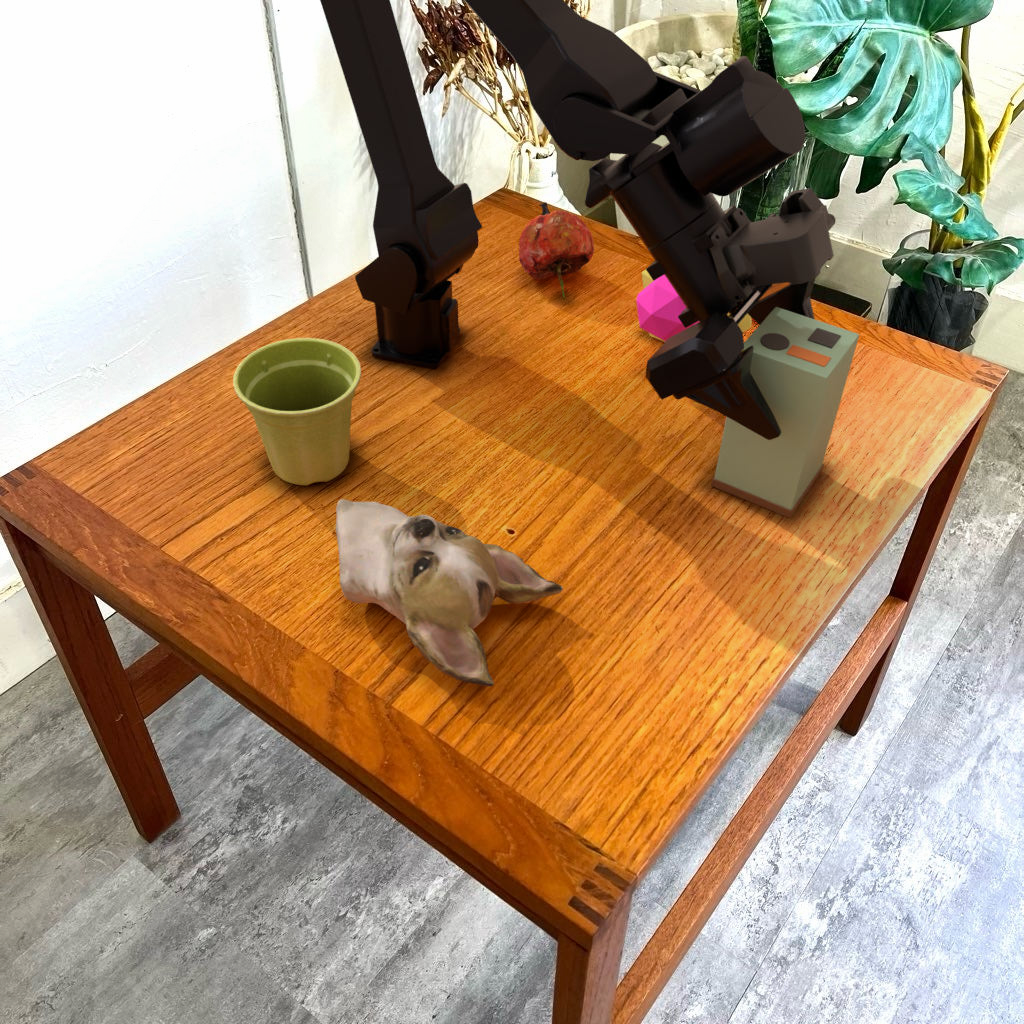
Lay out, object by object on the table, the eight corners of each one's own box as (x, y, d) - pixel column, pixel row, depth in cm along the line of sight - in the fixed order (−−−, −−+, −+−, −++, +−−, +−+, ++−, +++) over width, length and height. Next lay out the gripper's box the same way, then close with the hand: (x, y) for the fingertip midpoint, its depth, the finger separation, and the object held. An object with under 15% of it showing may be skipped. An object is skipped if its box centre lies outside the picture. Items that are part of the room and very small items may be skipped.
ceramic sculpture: (383, 437, 71) (576, 524, 66) (387, 524, 77) (563, 609, 72) (284, 531, 64) (490, 635, 59) (297, 618, 70) (485, 719, 65)
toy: (794, 333, 98) (784, 222, 95) (712, 373, 84) (699, 243, 81) (698, 340, 104) (686, 235, 101) (607, 378, 90) (591, 258, 87)
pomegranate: (598, 307, 103) (587, 214, 105) (601, 280, 96) (589, 180, 98) (525, 315, 104) (515, 222, 105) (522, 289, 96) (511, 189, 98)
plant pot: (392, 444, 84) (384, 356, 78) (330, 515, 78) (316, 426, 72) (295, 413, 87) (280, 326, 81) (228, 480, 81) (206, 391, 75)
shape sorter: (710, 485, 81) (737, 346, 72) (745, 441, 85) (774, 303, 76) (790, 518, 78) (828, 377, 69) (822, 471, 82) (862, 332, 73)
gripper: (713, 226, 60) (851, 438, 64) (824, 118, 72) (935, 302, 75) (587, 302, 69) (714, 486, 72) (704, 194, 80) (809, 357, 84)
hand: (799, 403), depth 75 cm, fingers open, 9 cm apart
